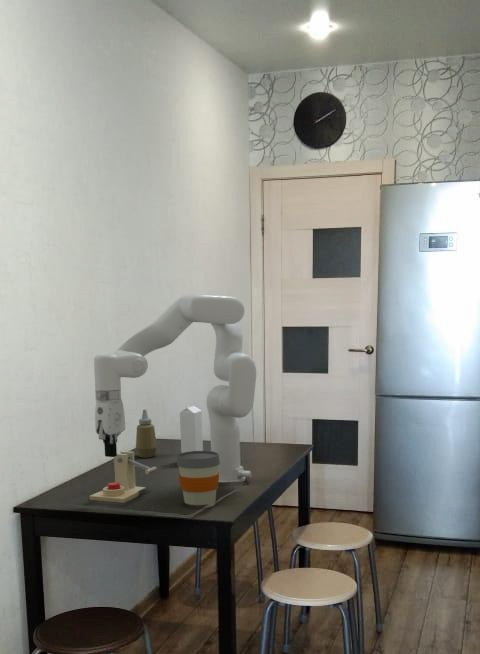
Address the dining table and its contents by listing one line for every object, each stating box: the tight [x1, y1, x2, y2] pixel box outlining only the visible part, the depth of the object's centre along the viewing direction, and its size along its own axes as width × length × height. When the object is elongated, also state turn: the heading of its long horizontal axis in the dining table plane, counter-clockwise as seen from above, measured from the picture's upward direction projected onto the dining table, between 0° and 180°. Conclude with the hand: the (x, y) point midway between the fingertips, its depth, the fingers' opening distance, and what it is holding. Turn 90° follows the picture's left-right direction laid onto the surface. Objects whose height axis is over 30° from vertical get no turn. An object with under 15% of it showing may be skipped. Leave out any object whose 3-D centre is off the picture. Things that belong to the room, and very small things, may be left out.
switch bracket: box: [113, 450, 147, 492], centre depth 267 cm, size 10×8×13 cm
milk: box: [179, 401, 204, 454], centre depth 309 cm, size 6×6×22 cm
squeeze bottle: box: [135, 409, 158, 459], centre depth 322 cm, size 8×8×18 cm
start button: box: [107, 481, 120, 490], centre depth 258 cm, size 4×4×2 cm
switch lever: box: [122, 453, 158, 475], centre depth 265 cm, size 12×5×2 cm, turn 67°
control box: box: [89, 486, 140, 504], centre depth 258 cm, size 12×9×4 cm
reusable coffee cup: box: [176, 450, 220, 509], centre depth 250 cm, size 13×13×15 cm
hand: (110, 456), depth 256 cm, fingers closed
